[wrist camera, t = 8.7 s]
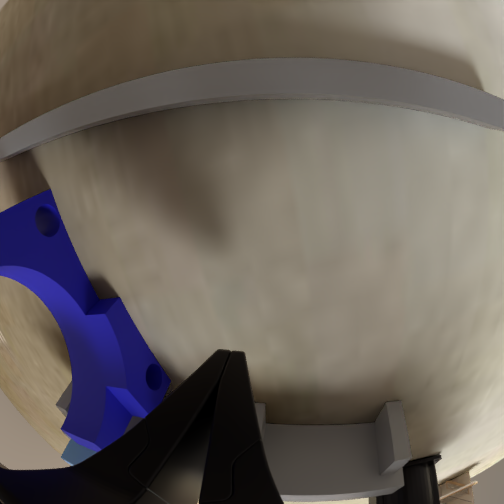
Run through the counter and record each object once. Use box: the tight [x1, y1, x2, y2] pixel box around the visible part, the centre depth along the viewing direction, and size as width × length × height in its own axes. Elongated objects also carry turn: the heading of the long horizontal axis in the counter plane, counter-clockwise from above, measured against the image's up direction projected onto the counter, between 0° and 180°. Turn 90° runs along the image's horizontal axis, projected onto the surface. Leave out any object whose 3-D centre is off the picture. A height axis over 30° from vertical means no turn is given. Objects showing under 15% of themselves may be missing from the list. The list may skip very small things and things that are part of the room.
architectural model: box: [438, 471, 478, 504], centre depth 19 cm, size 3×7×7 cm, turn 140°
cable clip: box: [0, 189, 171, 452], centre depth 10 cm, size 12×4×6 cm, turn 16°
